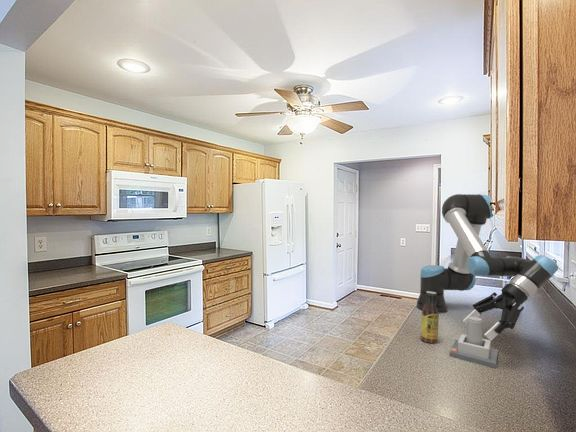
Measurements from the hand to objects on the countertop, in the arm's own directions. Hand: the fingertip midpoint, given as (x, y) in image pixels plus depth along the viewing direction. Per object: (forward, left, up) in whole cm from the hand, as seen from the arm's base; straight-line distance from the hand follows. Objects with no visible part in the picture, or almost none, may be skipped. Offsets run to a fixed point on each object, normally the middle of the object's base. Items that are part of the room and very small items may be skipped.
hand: (475, 330), depth 113 cm
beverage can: (0, 0, -8) cm, 8 cm away
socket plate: (0, 0, -9) cm, 9 cm away
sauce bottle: (-3, -16, -10) cm, 19 cm away
